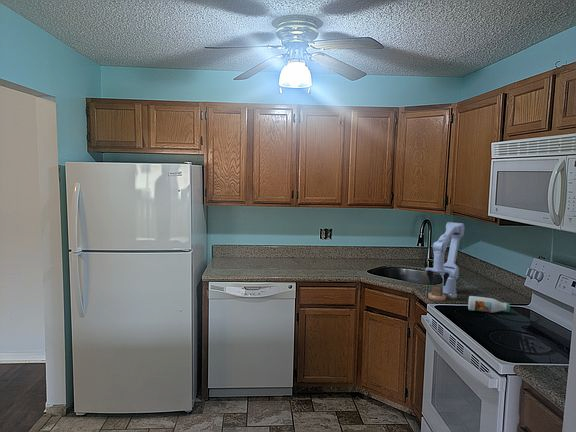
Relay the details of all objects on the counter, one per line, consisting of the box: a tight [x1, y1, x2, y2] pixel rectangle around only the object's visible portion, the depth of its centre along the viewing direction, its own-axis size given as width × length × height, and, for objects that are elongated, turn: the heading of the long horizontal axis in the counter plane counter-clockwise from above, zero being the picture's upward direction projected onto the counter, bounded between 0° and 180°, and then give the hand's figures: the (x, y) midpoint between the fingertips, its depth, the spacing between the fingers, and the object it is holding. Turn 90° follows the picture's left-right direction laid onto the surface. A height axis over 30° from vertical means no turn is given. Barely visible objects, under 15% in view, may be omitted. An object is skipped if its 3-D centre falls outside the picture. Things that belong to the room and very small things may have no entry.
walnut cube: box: [431, 284, 444, 296], centre depth 251 cm, size 5×5×5 cm
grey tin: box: [447, 292, 458, 300], centre depth 253 cm, size 5×5×3 cm
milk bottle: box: [467, 295, 511, 314], centre depth 229 cm, size 8×8×20 cm
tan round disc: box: [427, 291, 447, 302], centre depth 251 cm, size 10×10×2 cm
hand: (437, 284), depth 250 cm, fingers open, 7 cm apart
